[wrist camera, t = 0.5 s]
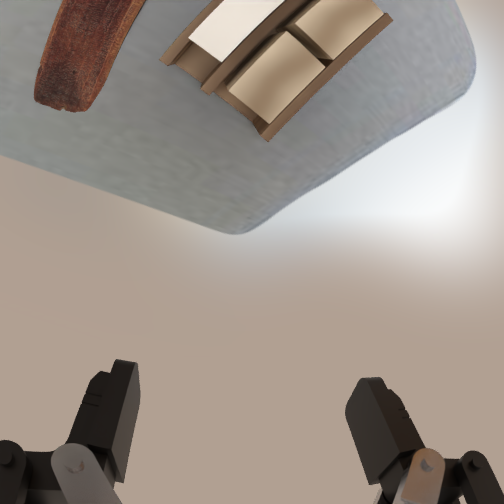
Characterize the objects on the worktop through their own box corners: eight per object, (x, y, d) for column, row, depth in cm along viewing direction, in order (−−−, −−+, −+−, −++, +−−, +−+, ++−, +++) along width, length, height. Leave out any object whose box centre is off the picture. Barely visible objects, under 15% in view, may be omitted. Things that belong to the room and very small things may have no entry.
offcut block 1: (224, 82, 30) (228, 90, 23) (269, 35, 27) (286, 30, 21) (256, 107, 32) (269, 124, 25) (300, 62, 29) (325, 67, 23)
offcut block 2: (275, 29, 27) (294, 23, 20) (319, -10, 24) (349, -24, 18) (306, 56, 29) (333, 59, 22) (348, 18, 26) (384, 13, 20)
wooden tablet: (87, 123, 30) (16, 102, 25) (92, 119, 32) (23, 97, 27) (202, -79, 18) (121, -101, 13) (200, -73, 20) (124, -95, 15)
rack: (168, 58, 28) (159, 59, 23) (281, -52, 22) (298, -71, 16) (257, 125, 34) (268, 142, 28) (362, 22, 27) (393, 20, 22)
